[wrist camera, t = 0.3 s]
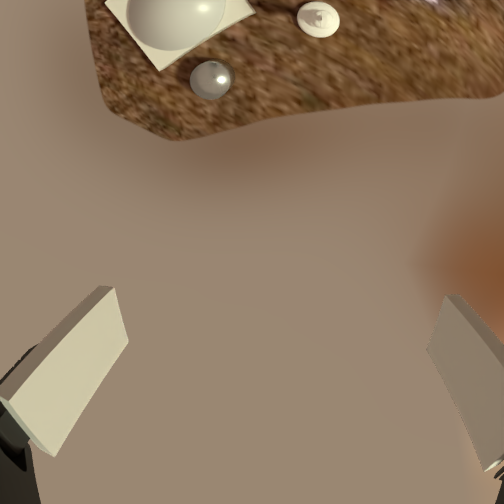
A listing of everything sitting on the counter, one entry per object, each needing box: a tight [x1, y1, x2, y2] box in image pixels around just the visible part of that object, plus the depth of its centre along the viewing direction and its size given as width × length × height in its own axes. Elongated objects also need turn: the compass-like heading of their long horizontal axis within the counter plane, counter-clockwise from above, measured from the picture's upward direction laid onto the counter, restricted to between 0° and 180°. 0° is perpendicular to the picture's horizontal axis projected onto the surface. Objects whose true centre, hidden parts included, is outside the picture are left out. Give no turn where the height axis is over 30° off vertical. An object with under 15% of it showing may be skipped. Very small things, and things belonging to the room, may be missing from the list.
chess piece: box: [297, 1, 339, 37], centre depth 20 cm, size 5×5×10 cm
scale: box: [105, 0, 256, 71], centre depth 22 cm, size 14×14×3 cm
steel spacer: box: [190, 59, 235, 99], centre depth 30 cm, size 5×5×3 cm
